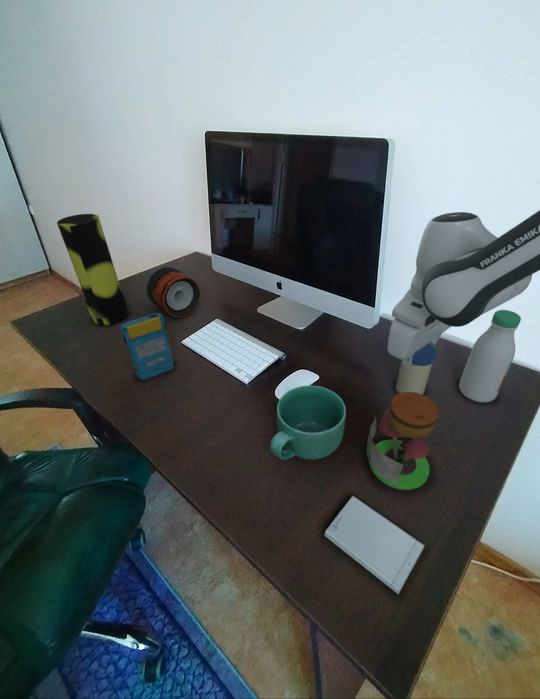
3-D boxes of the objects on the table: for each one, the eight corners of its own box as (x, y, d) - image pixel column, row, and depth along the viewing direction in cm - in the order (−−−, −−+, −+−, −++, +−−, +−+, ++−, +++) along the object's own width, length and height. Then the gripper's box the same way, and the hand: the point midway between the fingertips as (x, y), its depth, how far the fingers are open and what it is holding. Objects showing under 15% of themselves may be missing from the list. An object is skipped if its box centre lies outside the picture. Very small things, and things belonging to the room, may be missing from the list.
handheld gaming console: (172, 361, 96) (160, 311, 87) (178, 369, 93) (166, 318, 84) (135, 374, 92) (118, 324, 83) (140, 384, 89) (123, 332, 80)
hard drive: (324, 531, 57) (399, 590, 50) (353, 494, 62) (425, 543, 55) (324, 536, 58) (397, 595, 51) (352, 500, 63) (423, 549, 56)
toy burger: (402, 429, 75) (417, 372, 66) (445, 480, 65) (470, 421, 56) (350, 446, 72) (358, 389, 63) (388, 502, 62) (404, 444, 53)
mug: (309, 409, 80) (310, 375, 75) (355, 442, 72) (360, 408, 67) (249, 451, 72) (246, 417, 66) (294, 494, 64) (294, 460, 58)
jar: (429, 395, 82) (440, 359, 76) (403, 400, 81) (412, 363, 75) (415, 378, 87) (425, 342, 81) (391, 381, 86) (398, 346, 80)
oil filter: (167, 324, 110) (158, 284, 103) (148, 309, 118) (138, 272, 110) (203, 308, 117) (197, 270, 109) (183, 295, 125) (176, 259, 117)
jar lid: (425, 344, 82) (426, 338, 81) (441, 363, 76) (443, 357, 75) (396, 348, 81) (397, 342, 80) (410, 368, 76) (412, 361, 75)
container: (85, 319, 114) (47, 221, 97) (116, 305, 121) (85, 211, 103) (105, 330, 109) (69, 228, 91) (136, 314, 116) (107, 217, 98)
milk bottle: (487, 409, 78) (522, 330, 67) (451, 391, 83) (478, 315, 71) (501, 391, 82) (537, 314, 71) (467, 375, 87) (495, 301, 75)
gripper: (445, 277, 78) (431, 332, 86) (386, 312, 67) (376, 370, 76) (475, 287, 74) (457, 343, 82) (417, 325, 64) (403, 385, 72)
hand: (418, 356), depth 79 cm, fingers closed on jar lid, 7 cm apart
